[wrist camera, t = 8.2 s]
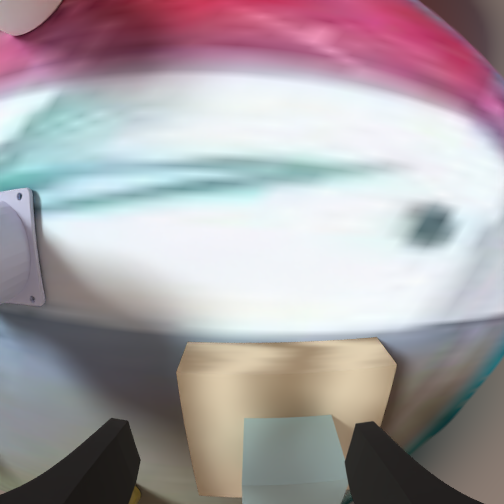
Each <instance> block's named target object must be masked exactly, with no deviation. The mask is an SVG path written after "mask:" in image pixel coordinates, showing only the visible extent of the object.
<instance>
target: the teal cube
mask: <svg viewBox="0 0 504 504" xmlns="http://www.w3.org/2000/svg"><path fill="white" fill-rule="evenodd" d="M344 462H345V458H344V455H343V451H342V448H341V445H340V441H339V438H338V435H337V432H336V428H335V425H334V422H333V419H332V415H322V416H308V417H288V418H244V436H243V465H242V501H243V504H341V502H342V499H343V497H344V494H345V491H346V489H347V486H348V479H347V474H346V468H345V463H344Z"/></svg>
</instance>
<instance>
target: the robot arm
mask: <svg viewBox="0 0 504 504" xmlns="http://www.w3.org/2000/svg"><path fill="white" fill-rule="evenodd" d="M20 194H22V199H21V198H20ZM33 297H34V298H35V300H34V299H33ZM3 303H12V304H21V305H31V306H42V305H43V304H44V303H45V295H44V289H43V284H42V278H41V272H40V265H39V258H38V250H37V242H36V233H35V222H34V209H33V194H32V191H31V189H30V188H21V189H15V190H9V191H3V192H0V305H1V304H3ZM344 463H345V468H346V474H347V479H348V485H349V489H350V492H351V495H352V498H353V501H354V504H484V503H481V502H479V501H477V500H474V499H472V498H470V497H468V496H466V495H464V494H462V493H461V492H459V491H457V490H455V489H454V488H452V487H450V486H449V485H447V484H445V483H444V482H443V481H441V480H440V479H438V478H437V477H435V476H434V475H433V474H431V473H430V472H429V471H427V470H426V469H425V468H424V467H422V466H421V465H420V464H419V463H418V462H416V461H415V460H414V459H413V458H411V456H410V455H408V454H407V453H406V452H405V451H404V450H403V449H402V448H401V447H400V446H399V445H398V444H397V443H395V442H394V441H393V440H392V439H391V438H390V437H389V436H388V435H387V434H386V433H385V432H384V431H383V430H382V429H381V428H380V427H379V426H378V425H377V424H376V423H375V422H374V421H370V422H363V423H356V424H355V428H354V432H353V435H352V439H351V442H350V446H349V449H348V453H347V456H346V459H345V462H344ZM139 465H140V457H139V454H138V451H137V448H136V445H135V442H134V439H133V436H132V432H131V429H130V426H129V422H128V421H126V420H120V419H114V418H111V419H110V420H108V421H107V422H106V423H105V424H104V425H103V426H102V427H100V428H99V429H98V430H97V431H96V432H95V433H94V434H93V435H91V436H90V437H89V438H88V439H87V440H86V441H85V442H83V443H82V444H81V445H80V446H79V447H77V448H76V449H75V450H74V451H73V452H71V453H70V454H69V455H68V456H67V457H65V458H64V459H63V460H61V461H60V462H59V463H57V464H56V465H54V466H53V467H52V468H50V469H49V470H47V471H46V472H44V473H43V474H41V475H40V476H38V477H37V478H35V479H33V480H31V481H29V482H28V483H26V484H24V485H22V486H20V487H18V488H15V489H13V490H11V491H8V492H6V493H4V494H1V495H0V504H129V501H130V499H131V496H132V493H133V490H134V487H135V484H136V480H137V475H138V470H139Z"/></svg>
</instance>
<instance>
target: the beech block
mask: <svg viewBox="0 0 504 504" xmlns="http://www.w3.org/2000/svg"><path fill="white" fill-rule="evenodd" d="M396 367H397V364H396V363H395V361H394V360H393V359H392V357H391V356H390V355H389V353H388V352H387V351H386V349H385V348H384V347H383V345H382V344H381V343H380V341H379V340H378V339H377V337H373V338H360V339H347V340H330V341H310V342H280V343H207V342H187V345H186V348H185V350H184V353H183V356H182V358H181V361H180V364H179V366H178V369H177V372H176V375H177V382H178V388H179V395H180V401H181V407H182V413H183V419H184V425H185V430H186V435H187V441H188V446H189V451H190V456H191V461H192V466H193V470H194V475H195V479H196V484H197V488H198V492H199V495H201V496H216V497H242V465H243V436H244V418H288V417H308V416H322V415H332V419H333V422H334V425H335V428H336V432H337V435H338V438H339V441H340V445H341V448H342V451H343V455H344V458H345V459H346V456H347V453H348V449H349V446H350V442H351V439H352V435H353V432H354V428H355V424H356V423H363V422H370V421H374V422H375V423H376V424H377V425H378V426H379V427H380V426H381V423H382V419H383V416H384V412H385V409H386V406H387V402H388V398H389V395H390V391H391V387H392V383H393V379H394V375H395V371H396ZM346 490H349V485H348V486H347V489H346Z"/></svg>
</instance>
